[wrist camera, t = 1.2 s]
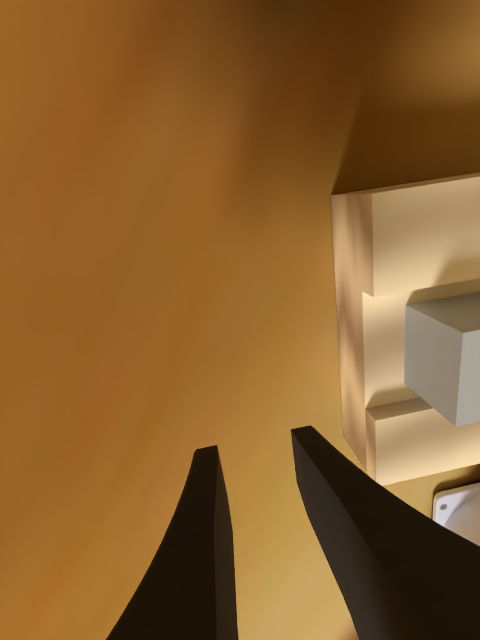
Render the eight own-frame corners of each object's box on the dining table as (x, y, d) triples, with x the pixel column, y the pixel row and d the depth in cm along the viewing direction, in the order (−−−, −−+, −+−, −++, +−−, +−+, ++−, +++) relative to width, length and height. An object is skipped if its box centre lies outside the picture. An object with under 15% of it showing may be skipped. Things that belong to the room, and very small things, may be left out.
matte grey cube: (480, 367, 17) (548, 406, 14) (403, 383, 17) (455, 426, 14) (488, 289, 16) (566, 312, 13) (405, 304, 16) (462, 333, 12)
